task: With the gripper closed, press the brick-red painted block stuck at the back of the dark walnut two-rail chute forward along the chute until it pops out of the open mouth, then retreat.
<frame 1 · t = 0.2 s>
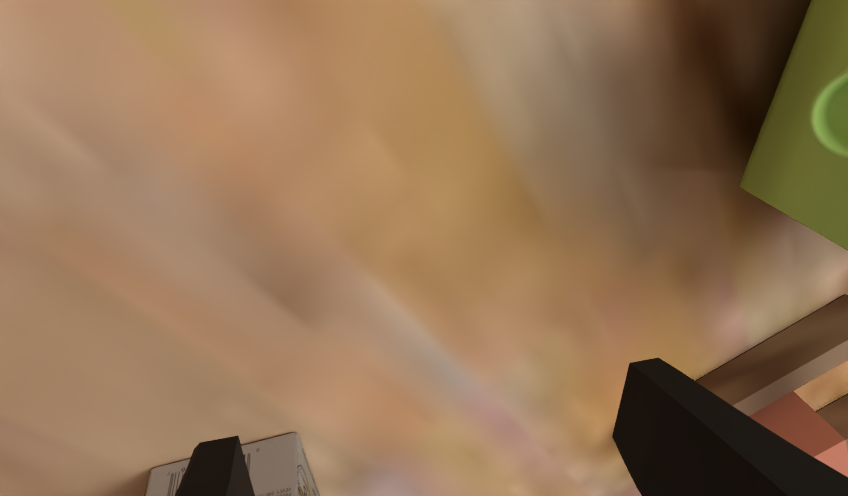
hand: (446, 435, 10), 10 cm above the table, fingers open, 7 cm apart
block: (767, 452, 28), point 2 cm above the table, slide at 0.0 cm
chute: (736, 419, 30), on the table
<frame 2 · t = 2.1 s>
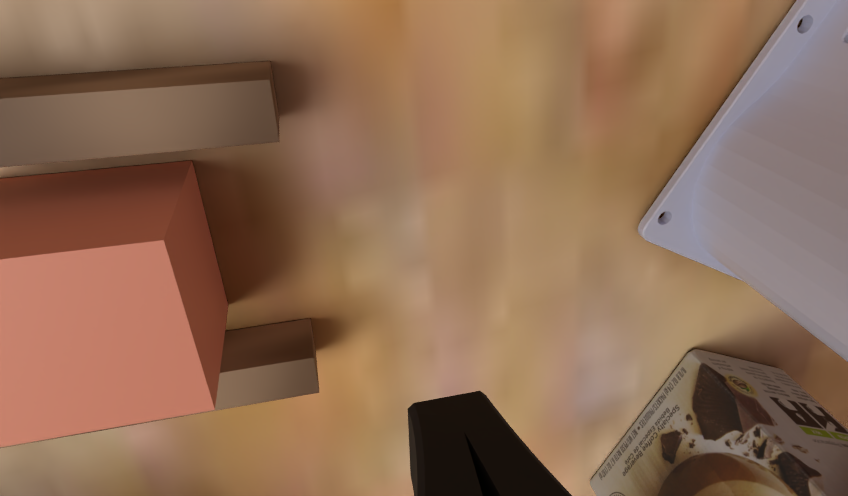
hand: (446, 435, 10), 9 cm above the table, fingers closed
block: (101, 293, 14), point 2 cm above the table, slide at 0.0 cm
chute: (121, 249, 16), on the table
coffee box: (677, 423, 27), on the table
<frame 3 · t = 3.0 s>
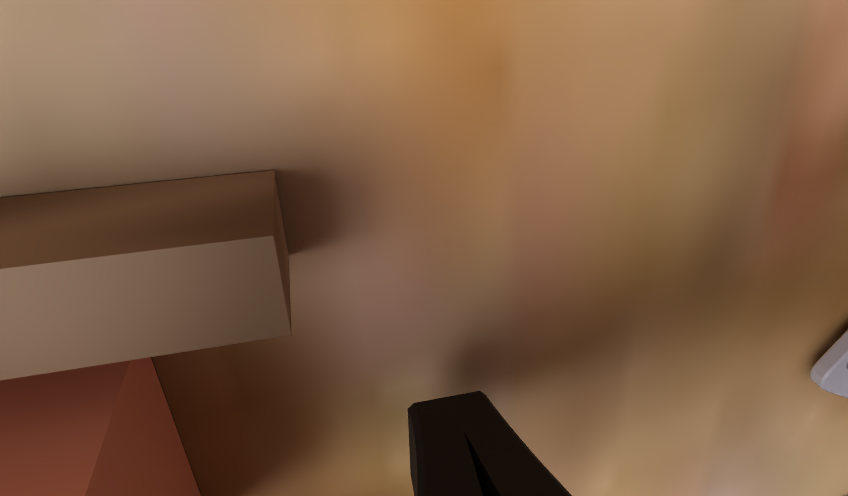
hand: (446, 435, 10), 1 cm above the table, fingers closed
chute: (29, 461, 10), on the table
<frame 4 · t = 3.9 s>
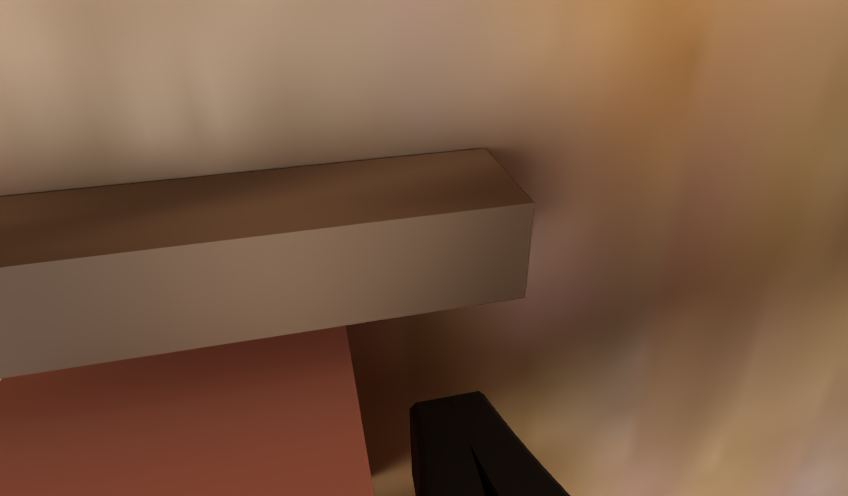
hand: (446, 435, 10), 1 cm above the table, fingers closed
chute: (221, 425, 10), on the table
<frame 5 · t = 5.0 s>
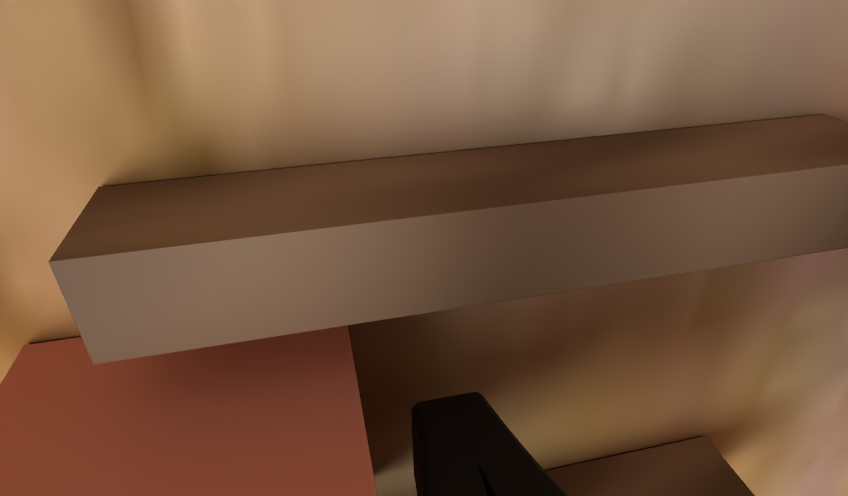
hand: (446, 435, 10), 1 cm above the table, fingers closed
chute: (536, 368, 12), on the table
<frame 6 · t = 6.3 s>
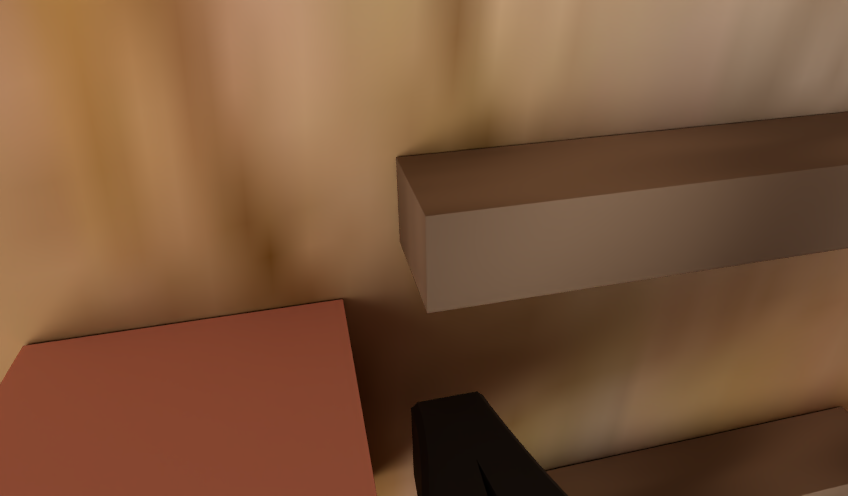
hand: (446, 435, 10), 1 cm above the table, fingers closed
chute: (713, 336, 12), on the table
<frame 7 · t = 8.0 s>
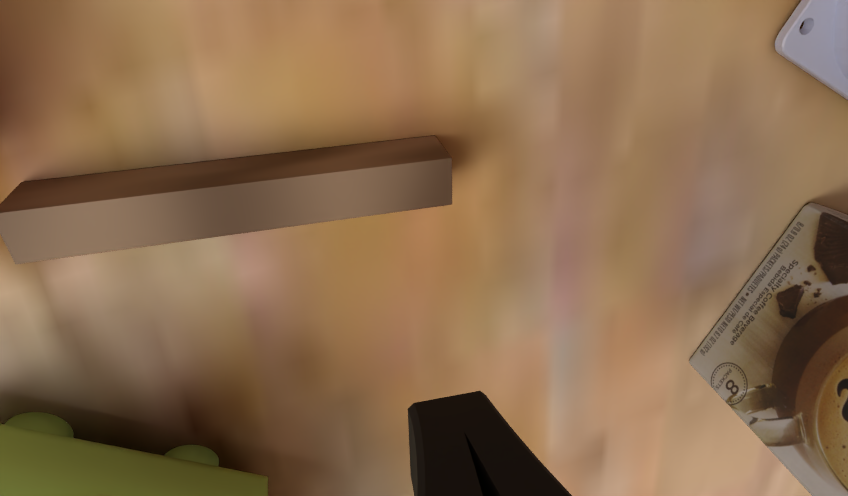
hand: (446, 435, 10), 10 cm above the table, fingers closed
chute: (252, 31, 15), on the table
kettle: (92, 480, 22), on the table
coffee box: (781, 296, 26), on the table
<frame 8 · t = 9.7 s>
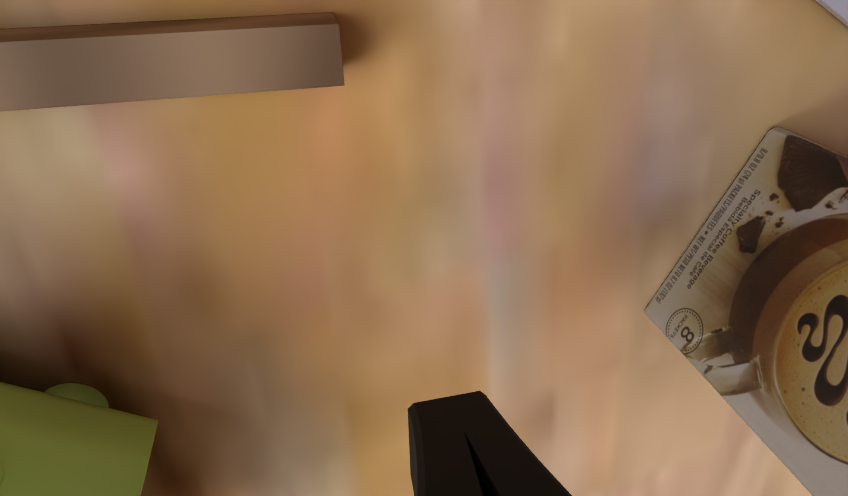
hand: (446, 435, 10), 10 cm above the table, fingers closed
coffee box: (746, 240, 24), on the table
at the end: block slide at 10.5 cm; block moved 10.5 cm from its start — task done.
